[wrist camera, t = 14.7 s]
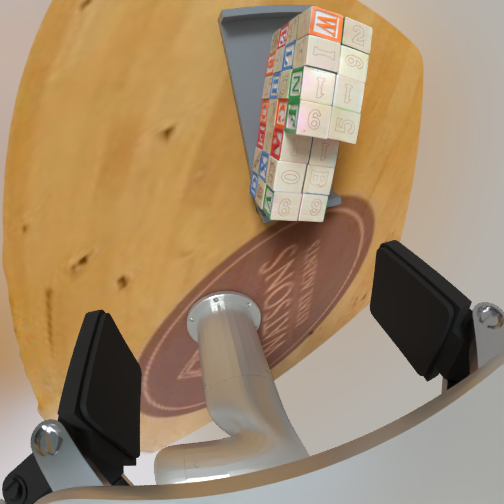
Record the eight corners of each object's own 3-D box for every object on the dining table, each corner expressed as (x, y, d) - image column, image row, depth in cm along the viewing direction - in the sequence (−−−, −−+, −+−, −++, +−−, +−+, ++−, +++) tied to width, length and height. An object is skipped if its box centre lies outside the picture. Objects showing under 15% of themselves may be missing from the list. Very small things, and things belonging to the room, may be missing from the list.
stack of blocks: (293, 196, 38) (335, 236, 28) (248, 192, 36) (276, 233, 26) (318, 43, 28) (374, 27, 18) (271, 32, 27) (313, 3, 16)
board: (328, 194, 41) (341, 203, 37) (256, 211, 40) (264, 223, 36) (301, 13, 27) (313, 5, 23) (217, 19, 26) (221, 10, 22)
